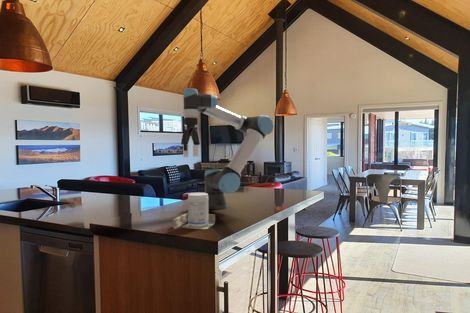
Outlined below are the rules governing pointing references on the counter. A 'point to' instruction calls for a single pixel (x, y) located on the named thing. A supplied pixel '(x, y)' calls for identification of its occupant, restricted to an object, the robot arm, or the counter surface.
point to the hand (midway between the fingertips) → (191, 156)
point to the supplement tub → (198, 209)
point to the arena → (184, 219)
